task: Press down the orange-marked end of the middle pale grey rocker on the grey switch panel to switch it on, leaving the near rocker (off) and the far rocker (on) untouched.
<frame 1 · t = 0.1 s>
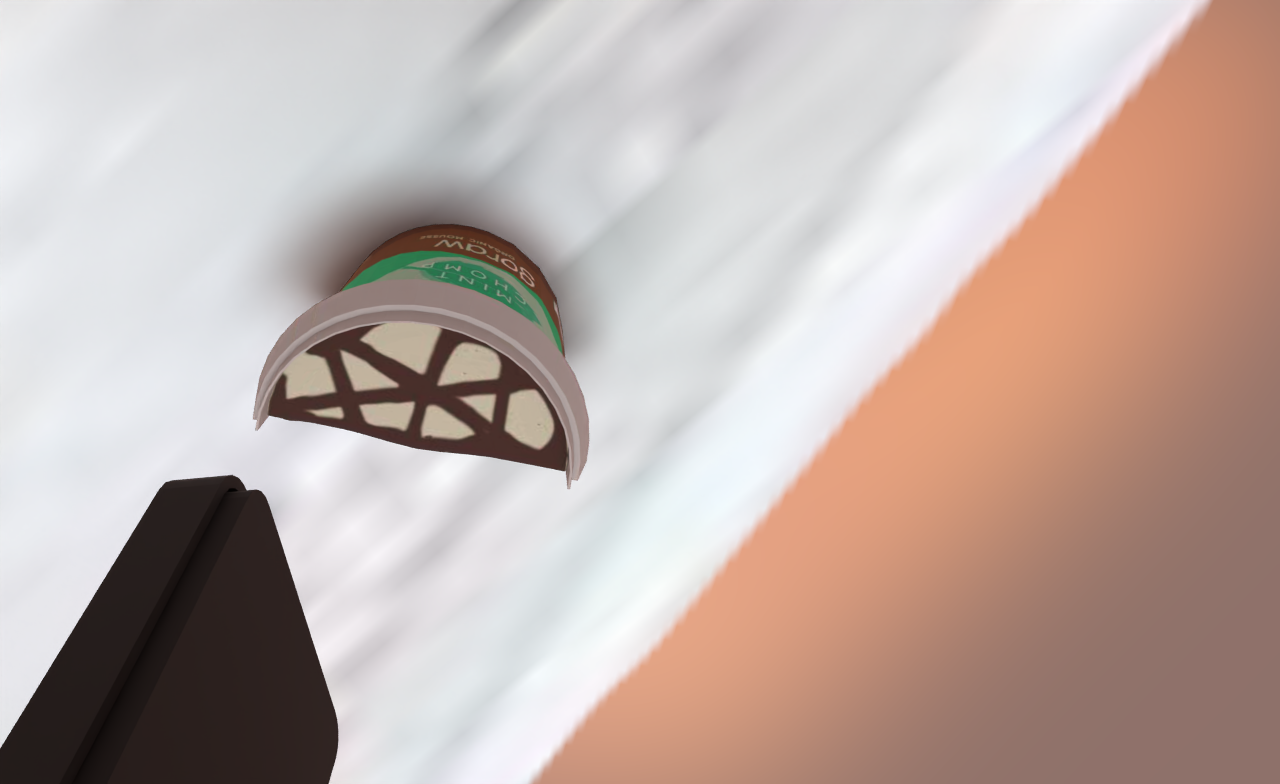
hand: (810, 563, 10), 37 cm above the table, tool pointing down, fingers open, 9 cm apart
food container: (464, 266, 50), on the table
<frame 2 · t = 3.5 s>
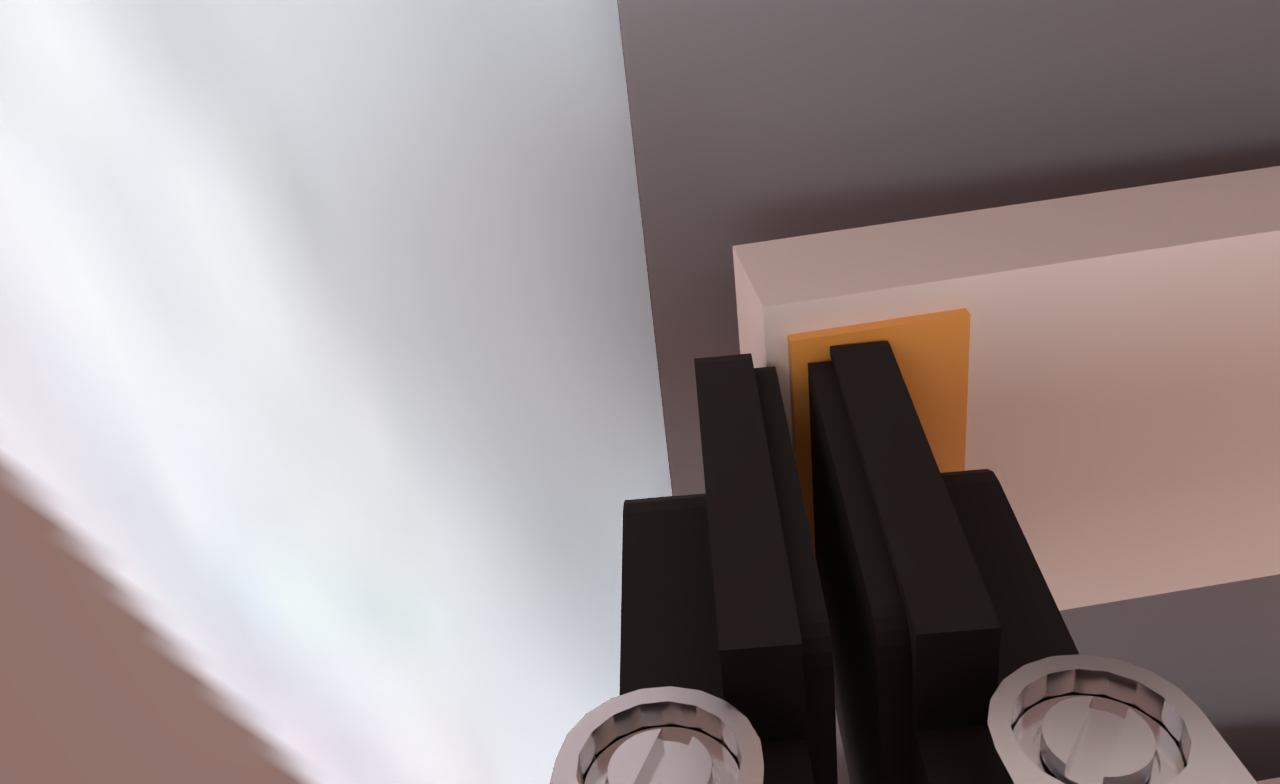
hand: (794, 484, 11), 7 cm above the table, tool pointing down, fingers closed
grey switch panel: (1066, 179, 17), on the table
rocker middle: (1244, 385, 12), point 6 cm above the table, hinge at -7.8°, touching gripper
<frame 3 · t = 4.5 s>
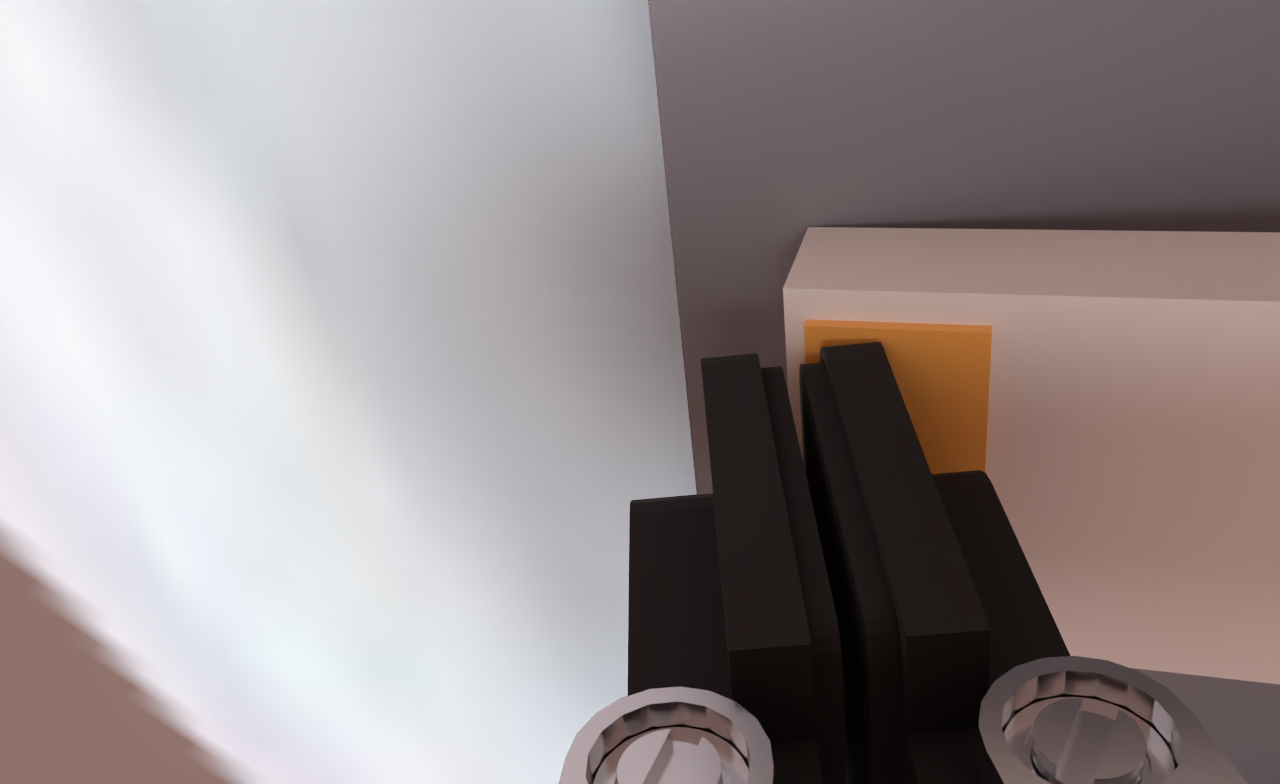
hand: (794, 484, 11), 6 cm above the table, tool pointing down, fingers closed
grey switch panel: (1131, 220, 16), on the table
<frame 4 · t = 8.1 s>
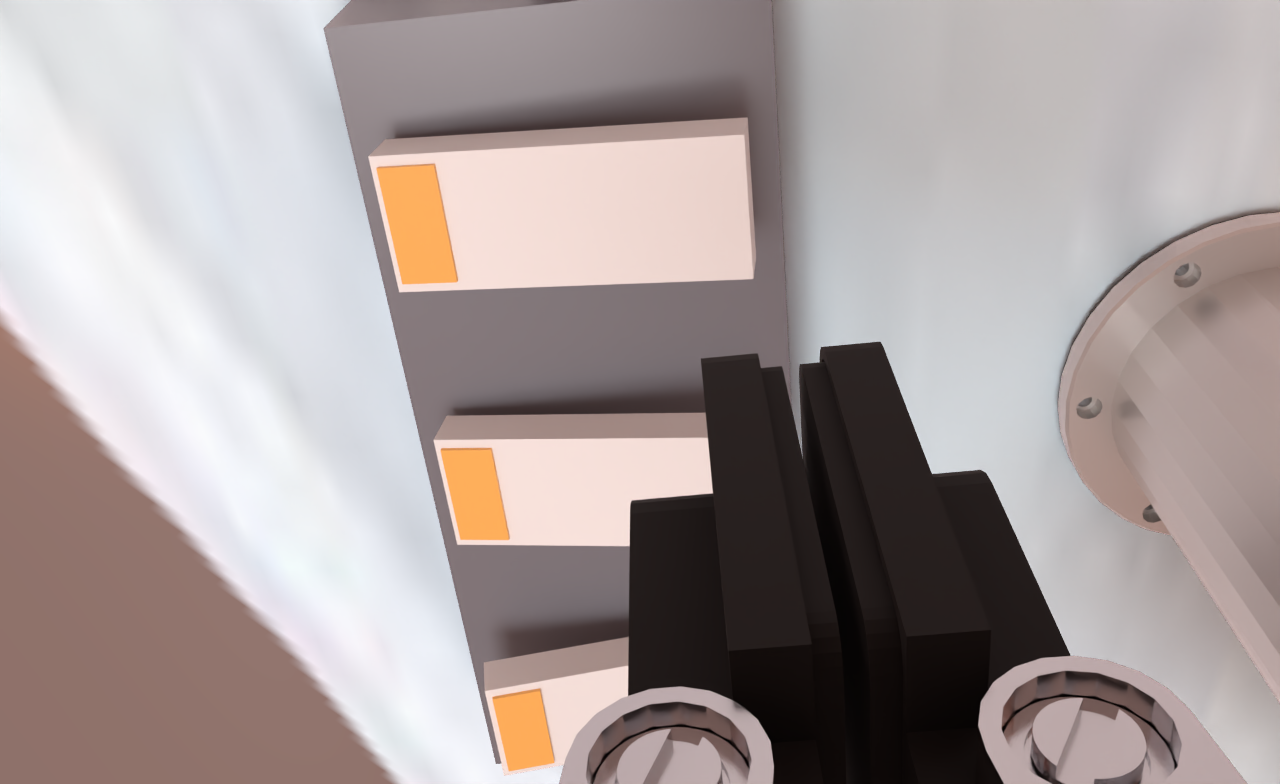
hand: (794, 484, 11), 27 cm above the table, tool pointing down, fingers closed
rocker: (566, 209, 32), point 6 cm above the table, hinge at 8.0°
grey switch panel: (610, 384, 42), on the table
rocker middle: (605, 481, 37), point 6 cm above the table, hinge at 8.6°
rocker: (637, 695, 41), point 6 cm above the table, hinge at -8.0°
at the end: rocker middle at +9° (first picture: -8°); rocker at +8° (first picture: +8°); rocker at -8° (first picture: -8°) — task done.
